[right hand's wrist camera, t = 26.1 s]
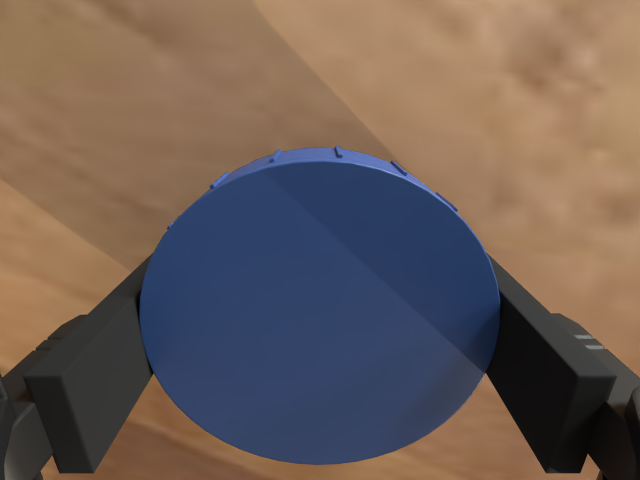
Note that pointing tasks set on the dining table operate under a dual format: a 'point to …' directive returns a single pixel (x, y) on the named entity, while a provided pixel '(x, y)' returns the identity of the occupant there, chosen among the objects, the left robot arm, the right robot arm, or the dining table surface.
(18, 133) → the dining table surface
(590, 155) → the dining table surface
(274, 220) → the lid
